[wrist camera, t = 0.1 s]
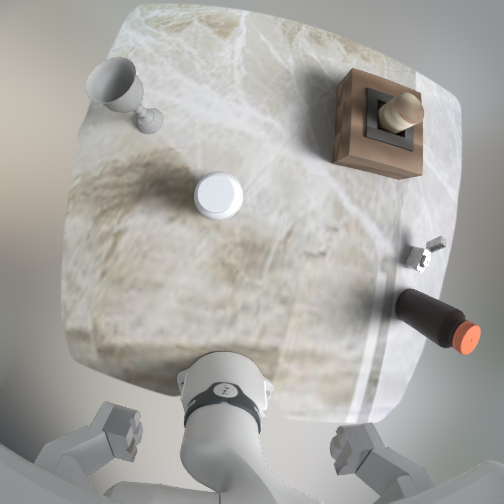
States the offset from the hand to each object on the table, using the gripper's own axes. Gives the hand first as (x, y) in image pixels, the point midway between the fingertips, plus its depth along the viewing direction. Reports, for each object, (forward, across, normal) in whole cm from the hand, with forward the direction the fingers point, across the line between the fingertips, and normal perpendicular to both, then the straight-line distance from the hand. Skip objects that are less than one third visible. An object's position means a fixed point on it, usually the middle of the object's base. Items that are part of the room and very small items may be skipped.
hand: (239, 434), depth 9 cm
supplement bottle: (+40, -4, +7) cm, 41 cm away
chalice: (+41, -19, +20) cm, 49 cm away
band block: (+42, +21, +24) cm, 52 cm away
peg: (+36, +21, +24) cm, 48 cm away
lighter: (+40, +34, +3) cm, 52 cm away
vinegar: (+38, +35, -8) cm, 53 cm away
